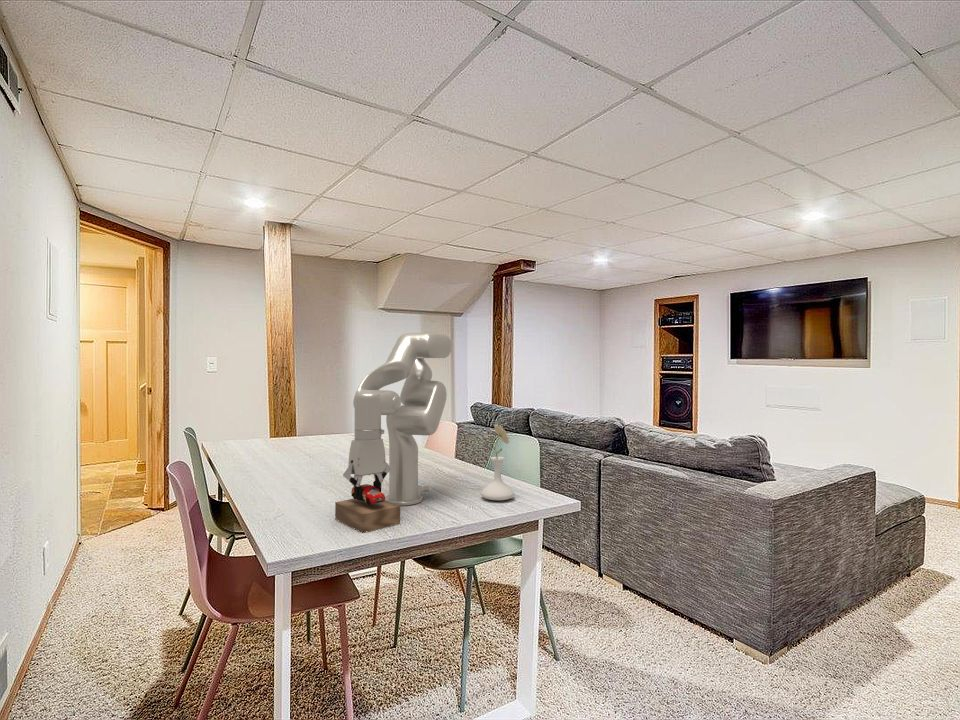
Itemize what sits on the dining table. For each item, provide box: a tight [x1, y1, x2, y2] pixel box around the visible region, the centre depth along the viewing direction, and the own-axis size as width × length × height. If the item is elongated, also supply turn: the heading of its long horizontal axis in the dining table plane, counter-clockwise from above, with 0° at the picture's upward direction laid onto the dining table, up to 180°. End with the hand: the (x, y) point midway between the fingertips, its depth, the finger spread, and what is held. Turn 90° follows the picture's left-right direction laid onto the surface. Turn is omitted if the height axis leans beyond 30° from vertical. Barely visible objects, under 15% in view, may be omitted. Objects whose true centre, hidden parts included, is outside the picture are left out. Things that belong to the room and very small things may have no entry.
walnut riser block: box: [334, 498, 401, 534], centre depth 147 cm, size 12×16×5 cm
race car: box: [350, 483, 386, 505], centre depth 147 cm, size 13×5×4 cm, turn 41°
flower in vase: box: [480, 423, 515, 501], centre depth 173 cm, size 13×11×25 cm
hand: (367, 496), depth 148 cm, fingers closed on race car, 5 cm apart
